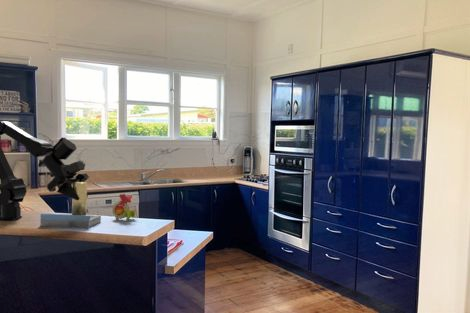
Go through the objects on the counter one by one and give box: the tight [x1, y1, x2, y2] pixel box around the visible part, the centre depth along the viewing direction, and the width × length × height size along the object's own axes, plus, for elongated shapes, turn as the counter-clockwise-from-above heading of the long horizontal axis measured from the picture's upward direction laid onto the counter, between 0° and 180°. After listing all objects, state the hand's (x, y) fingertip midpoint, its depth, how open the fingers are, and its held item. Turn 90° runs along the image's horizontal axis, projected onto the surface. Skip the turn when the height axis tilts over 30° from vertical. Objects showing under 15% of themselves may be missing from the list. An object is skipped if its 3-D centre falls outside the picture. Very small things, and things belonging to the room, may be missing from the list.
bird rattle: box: [111, 193, 137, 222], centre depth 155 cm, size 6×11×9 cm
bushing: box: [71, 181, 88, 215], centre depth 144 cm, size 5×5×12 cm
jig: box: [40, 212, 102, 229], centre depth 145 cm, size 18×11×4 cm, turn 87°
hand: (82, 198), depth 144 cm, fingers closed on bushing, 5 cm apart
